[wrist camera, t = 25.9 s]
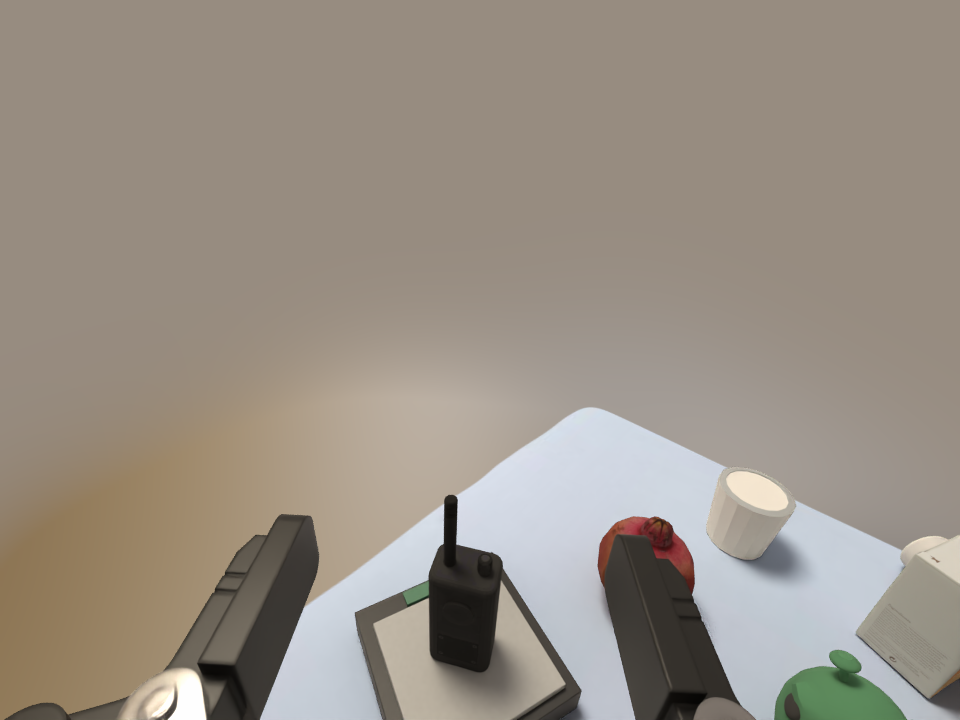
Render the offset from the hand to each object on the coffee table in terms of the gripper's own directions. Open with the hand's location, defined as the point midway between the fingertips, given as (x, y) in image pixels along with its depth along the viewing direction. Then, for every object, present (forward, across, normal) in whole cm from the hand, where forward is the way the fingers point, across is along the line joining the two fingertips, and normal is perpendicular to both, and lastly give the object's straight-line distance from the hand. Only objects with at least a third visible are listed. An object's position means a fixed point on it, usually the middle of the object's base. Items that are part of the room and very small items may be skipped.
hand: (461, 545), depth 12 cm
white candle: (+25, -29, +28) cm, 48 cm away
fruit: (+18, -16, +28) cm, 37 cm away
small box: (+14, -39, +28) cm, 50 cm away
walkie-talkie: (+11, 0, +25) cm, 27 cm away
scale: (+11, 0, +28) cm, 30 cm away
